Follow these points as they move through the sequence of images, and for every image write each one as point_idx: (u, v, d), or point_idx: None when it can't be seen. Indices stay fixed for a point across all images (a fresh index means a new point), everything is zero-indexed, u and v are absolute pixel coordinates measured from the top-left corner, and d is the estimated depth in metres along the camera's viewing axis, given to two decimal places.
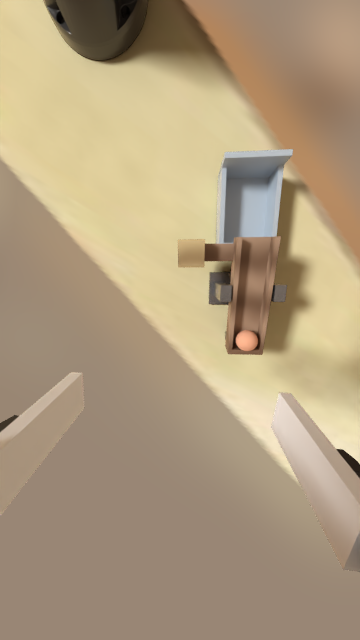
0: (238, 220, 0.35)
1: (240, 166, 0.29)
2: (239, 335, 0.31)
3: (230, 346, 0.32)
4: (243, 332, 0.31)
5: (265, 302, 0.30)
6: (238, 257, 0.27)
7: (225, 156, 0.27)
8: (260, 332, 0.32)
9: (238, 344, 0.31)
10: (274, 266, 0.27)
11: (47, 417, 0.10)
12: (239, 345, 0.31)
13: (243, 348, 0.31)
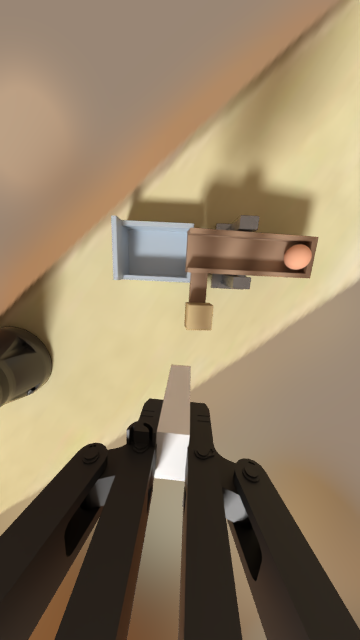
0: (164, 258, 0.36)
1: (122, 262, 0.32)
2: (290, 266, 0.28)
3: (301, 275, 0.29)
4: (287, 261, 0.28)
5: (256, 237, 0.27)
6: (206, 270, 0.27)
7: (116, 279, 0.30)
8: (289, 240, 0.28)
9: (301, 267, 0.27)
10: (219, 231, 0.26)
11: None
12: (302, 266, 0.27)
13: (307, 262, 0.27)
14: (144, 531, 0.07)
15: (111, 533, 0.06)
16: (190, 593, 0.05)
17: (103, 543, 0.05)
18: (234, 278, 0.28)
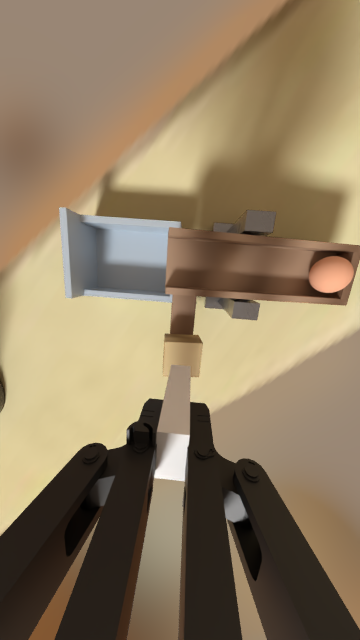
0: (143, 268, 0.27)
1: (82, 272, 0.23)
2: (318, 288, 0.19)
3: (333, 301, 0.19)
4: (314, 281, 0.19)
5: (269, 244, 0.18)
6: (194, 292, 0.18)
7: (70, 297, 0.22)
8: (319, 249, 0.18)
9: (335, 291, 0.18)
10: (214, 234, 0.17)
11: None
12: (338, 290, 0.18)
13: (347, 284, 0.18)
14: (144, 531, 0.07)
15: (111, 533, 0.06)
16: (190, 593, 0.05)
17: (103, 543, 0.05)
18: (235, 304, 0.19)
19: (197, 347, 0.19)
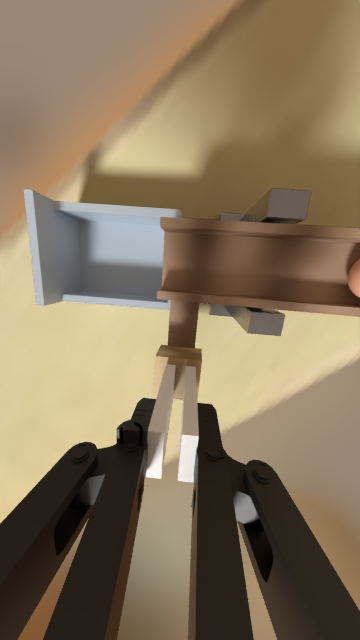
0: (136, 268, 0.22)
1: (59, 273, 0.19)
2: (357, 294, 0.14)
3: None
4: (350, 284, 0.14)
5: (296, 235, 0.13)
6: (191, 297, 0.14)
7: (42, 304, 0.17)
8: None
9: None
10: (217, 224, 0.13)
11: (170, 399, 0.12)
12: None
13: None
14: (135, 529, 0.07)
15: (101, 532, 0.06)
16: (201, 593, 0.05)
17: (93, 543, 0.05)
18: (252, 315, 0.14)
19: (195, 365, 0.15)
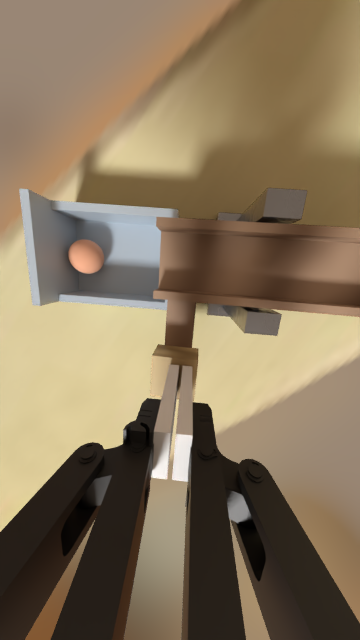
0: (133, 267, 0.22)
1: (55, 273, 0.19)
2: None
3: None
4: None
5: (292, 235, 0.13)
6: (188, 297, 0.15)
7: (38, 304, 0.17)
8: None
9: None
10: (213, 223, 0.13)
11: None
12: None
13: None
14: (141, 530, 0.07)
15: (108, 533, 0.06)
16: (194, 593, 0.05)
17: (100, 543, 0.05)
18: (248, 314, 0.14)
19: (191, 365, 0.15)
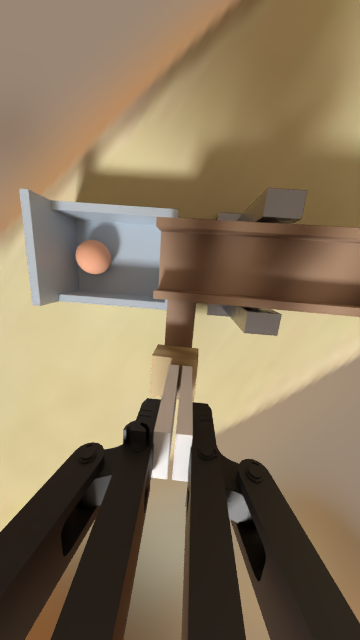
0: (133, 267, 0.22)
1: (55, 273, 0.19)
2: None
3: None
4: None
5: (292, 235, 0.13)
6: (188, 297, 0.14)
7: (38, 304, 0.17)
8: None
9: None
10: (213, 223, 0.13)
11: None
12: (83, 269, 0.21)
13: (78, 263, 0.20)
14: (141, 530, 0.07)
15: (108, 533, 0.06)
16: (194, 593, 0.05)
17: (100, 543, 0.05)
18: (248, 314, 0.14)
19: (191, 365, 0.15)
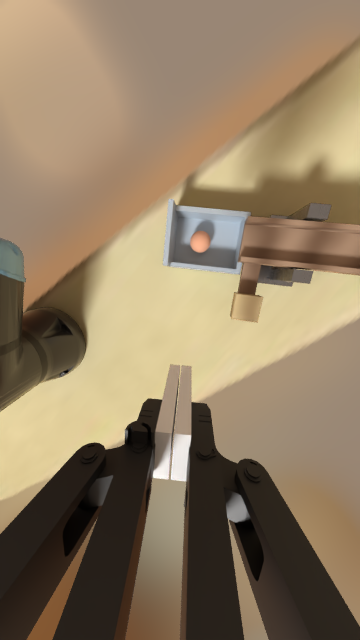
0: (211, 249, 0.34)
1: (171, 248, 0.31)
2: (193, 249, 0.33)
3: None
4: None
5: (321, 228, 0.25)
6: (260, 260, 0.26)
7: (166, 264, 0.30)
8: None
9: (198, 250, 0.32)
10: (279, 220, 0.25)
11: (176, 399, 0.12)
12: (198, 249, 0.32)
13: (199, 245, 0.32)
14: (142, 531, 0.07)
15: (109, 533, 0.06)
16: (192, 593, 0.05)
17: (101, 543, 0.05)
18: (294, 271, 0.26)
19: (258, 300, 0.27)
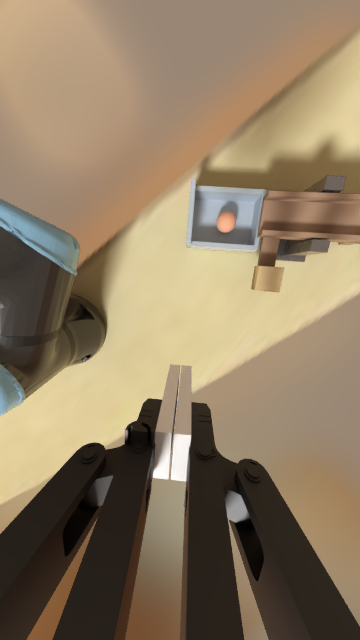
0: None
1: None
2: (220, 228, 0.34)
3: None
4: (217, 224, 0.34)
5: (337, 199, 0.27)
6: (280, 233, 0.28)
7: (189, 242, 0.31)
8: None
9: (228, 230, 0.34)
10: (298, 193, 0.27)
11: (176, 399, 0.12)
12: (229, 229, 0.34)
13: (232, 225, 0.33)
14: (142, 531, 0.07)
15: (109, 533, 0.06)
16: (192, 593, 0.05)
17: (101, 543, 0.05)
18: (313, 241, 0.28)
19: (280, 270, 0.29)
